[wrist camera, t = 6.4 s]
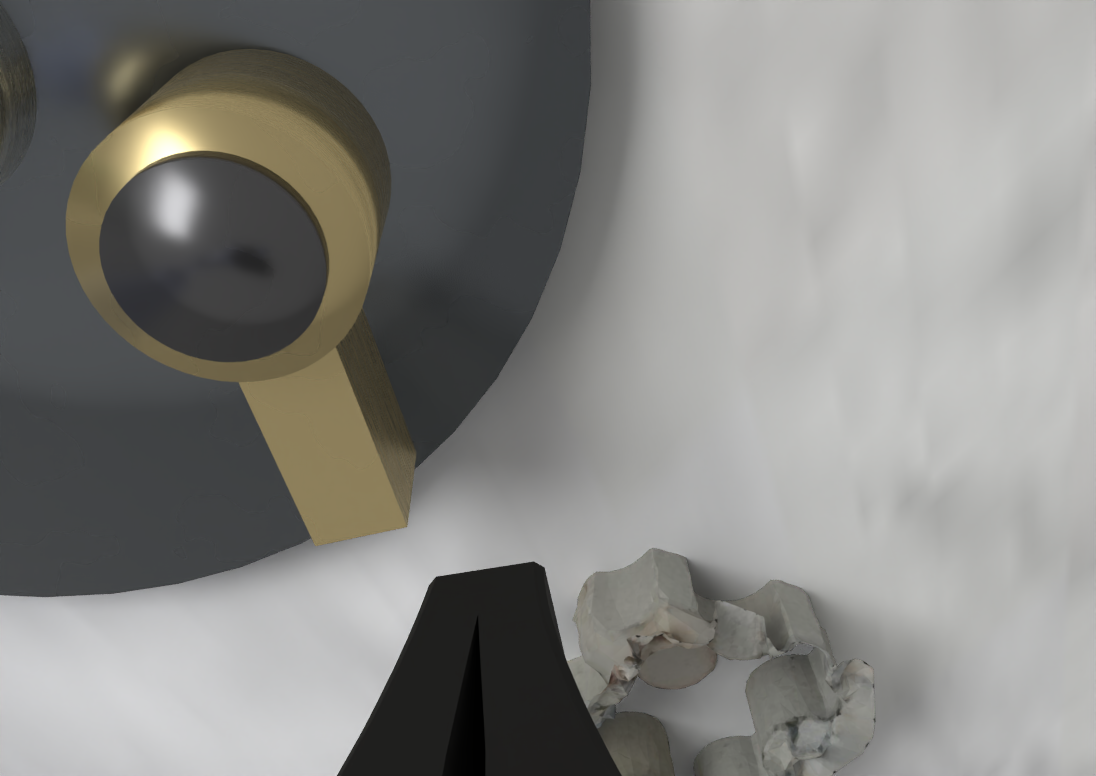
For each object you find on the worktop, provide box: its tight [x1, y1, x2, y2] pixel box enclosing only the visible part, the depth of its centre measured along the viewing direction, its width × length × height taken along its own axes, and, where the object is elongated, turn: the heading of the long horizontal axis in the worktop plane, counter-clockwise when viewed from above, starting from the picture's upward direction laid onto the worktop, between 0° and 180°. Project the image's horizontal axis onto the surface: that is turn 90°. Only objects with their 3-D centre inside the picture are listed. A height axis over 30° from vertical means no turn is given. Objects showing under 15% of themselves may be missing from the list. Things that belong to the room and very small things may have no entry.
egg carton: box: [567, 548, 875, 776], centre depth 26 cm, size 11×8×4 cm
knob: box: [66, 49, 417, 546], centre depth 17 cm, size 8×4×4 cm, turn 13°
